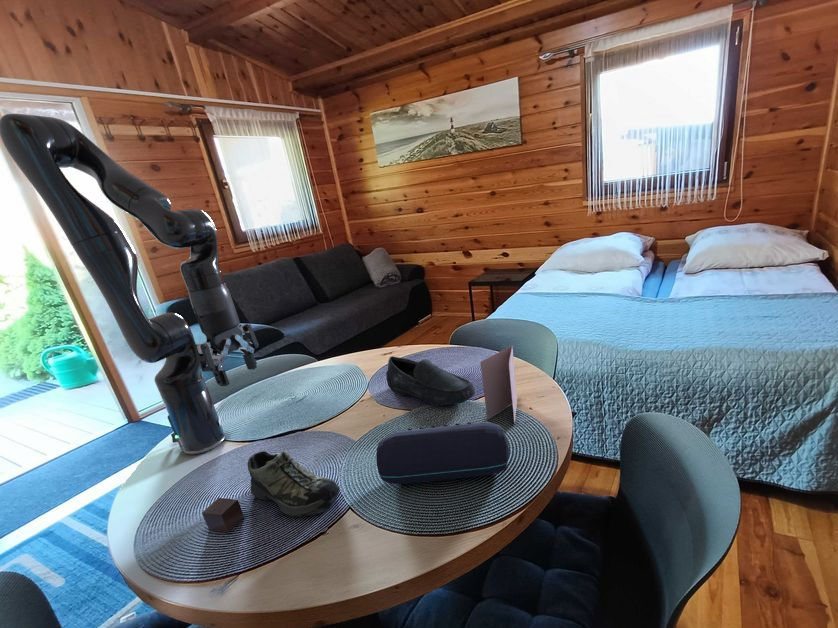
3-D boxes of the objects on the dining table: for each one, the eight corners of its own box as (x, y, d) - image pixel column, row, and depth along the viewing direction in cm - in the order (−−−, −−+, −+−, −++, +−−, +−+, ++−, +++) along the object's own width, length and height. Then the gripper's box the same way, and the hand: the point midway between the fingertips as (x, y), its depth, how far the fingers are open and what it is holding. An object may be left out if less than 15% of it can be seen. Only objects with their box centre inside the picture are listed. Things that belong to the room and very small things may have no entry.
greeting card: (514, 399, 110) (509, 344, 104) (538, 406, 105) (534, 349, 99) (484, 419, 102) (477, 361, 97) (508, 428, 97) (502, 367, 92)
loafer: (464, 414, 106) (459, 376, 102) (377, 396, 121) (369, 362, 117) (484, 395, 114) (480, 359, 110) (400, 380, 129) (394, 349, 125)
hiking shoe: (319, 526, 75) (306, 482, 72) (237, 501, 84) (222, 462, 81) (350, 495, 82) (340, 454, 79) (271, 475, 92) (258, 437, 88)
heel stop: (208, 530, 78) (201, 512, 77) (225, 514, 82) (218, 497, 80) (228, 532, 77) (221, 515, 75) (244, 516, 80) (237, 499, 79)
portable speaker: (508, 452, 89) (503, 410, 85) (513, 484, 80) (508, 438, 76) (388, 465, 90) (379, 423, 86) (379, 497, 81) (368, 452, 77)
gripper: (226, 299, 99) (248, 364, 105) (171, 319, 86) (200, 391, 92) (252, 297, 97) (273, 363, 103) (200, 317, 84) (228, 391, 90)
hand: (239, 376), depth 97 cm, fingers open, 8 cm apart
